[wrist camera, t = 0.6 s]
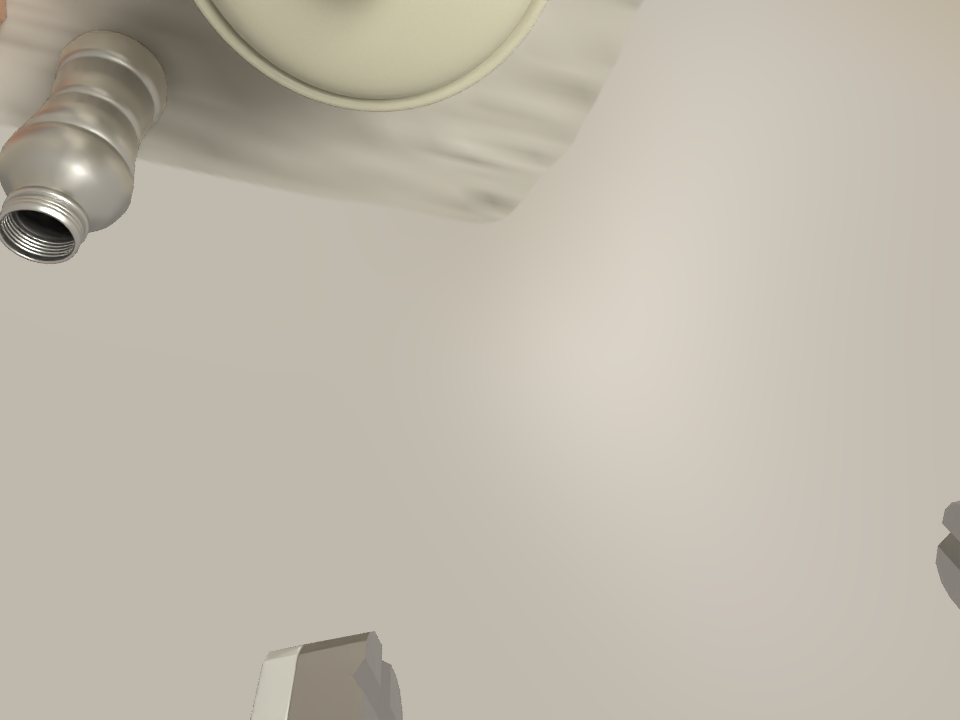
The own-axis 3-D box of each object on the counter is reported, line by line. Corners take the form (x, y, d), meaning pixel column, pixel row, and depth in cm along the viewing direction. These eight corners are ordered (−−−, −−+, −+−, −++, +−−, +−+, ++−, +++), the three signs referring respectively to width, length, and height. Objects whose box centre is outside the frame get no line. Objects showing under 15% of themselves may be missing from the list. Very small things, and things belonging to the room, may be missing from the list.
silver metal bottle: (67, 5, 45) (-52, 165, 31) (177, 39, 47) (112, 200, 34) (69, 95, 49) (-35, 270, 36) (170, 122, 52) (109, 295, 38)
